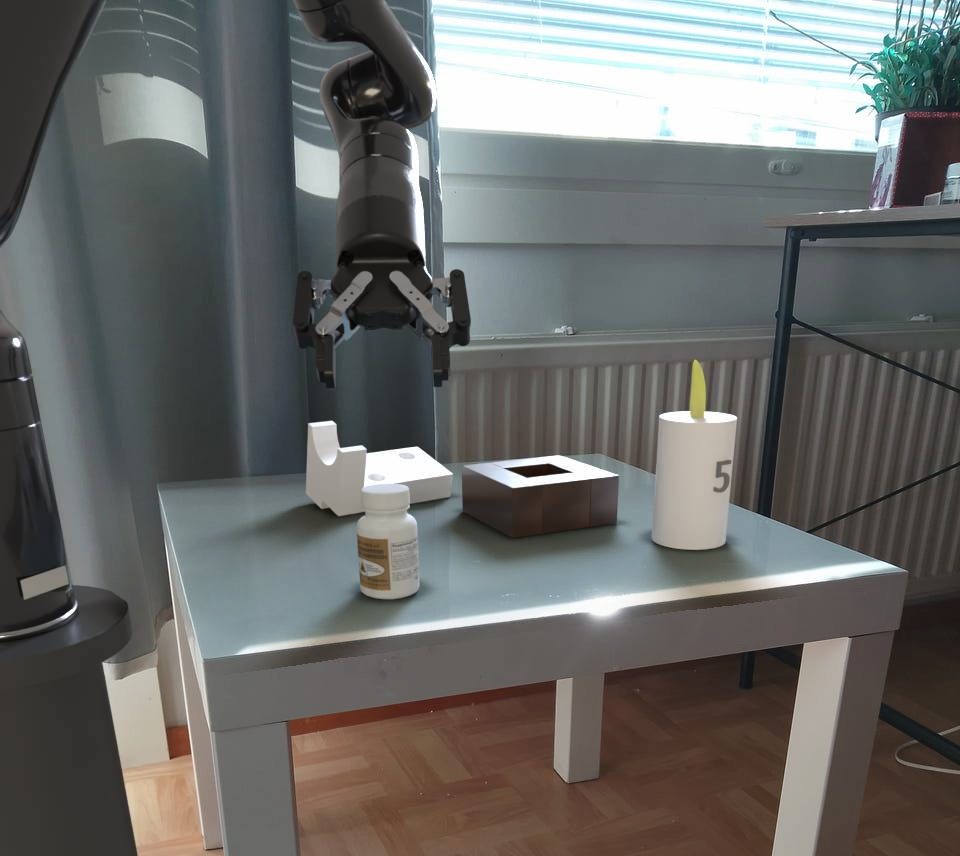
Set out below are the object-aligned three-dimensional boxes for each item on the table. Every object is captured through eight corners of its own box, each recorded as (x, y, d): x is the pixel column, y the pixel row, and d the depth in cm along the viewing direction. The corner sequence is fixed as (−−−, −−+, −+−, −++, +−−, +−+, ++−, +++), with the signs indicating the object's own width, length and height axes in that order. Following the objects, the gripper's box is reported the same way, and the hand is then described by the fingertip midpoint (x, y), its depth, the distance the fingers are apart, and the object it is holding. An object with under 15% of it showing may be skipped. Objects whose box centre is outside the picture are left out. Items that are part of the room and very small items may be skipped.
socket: (512, 538, 82) (512, 487, 80) (462, 511, 91) (461, 465, 89) (617, 523, 86) (619, 475, 84) (559, 499, 95) (560, 455, 94)
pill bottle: (349, 590, 69) (342, 487, 66) (397, 577, 72) (392, 478, 69) (382, 605, 66) (376, 498, 63) (431, 591, 69) (428, 488, 66)
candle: (690, 554, 77) (705, 366, 71) (636, 537, 82) (646, 359, 76) (743, 542, 80) (761, 361, 74) (688, 526, 85) (701, 355, 79)
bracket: (338, 524, 90) (342, 452, 86) (305, 493, 95) (308, 423, 90) (449, 505, 97) (458, 437, 93) (414, 476, 102) (421, 410, 97)
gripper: (290, 192, 76) (286, 351, 70) (464, 191, 77) (475, 348, 71) (302, 263, 83) (300, 413, 77) (462, 261, 84) (472, 409, 77)
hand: (384, 382), depth 74 cm, fingers open, 8 cm apart
